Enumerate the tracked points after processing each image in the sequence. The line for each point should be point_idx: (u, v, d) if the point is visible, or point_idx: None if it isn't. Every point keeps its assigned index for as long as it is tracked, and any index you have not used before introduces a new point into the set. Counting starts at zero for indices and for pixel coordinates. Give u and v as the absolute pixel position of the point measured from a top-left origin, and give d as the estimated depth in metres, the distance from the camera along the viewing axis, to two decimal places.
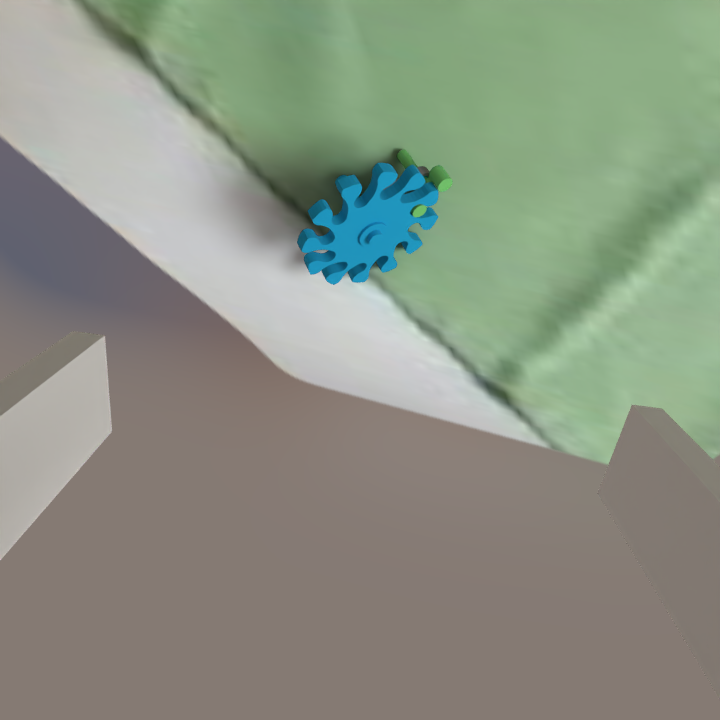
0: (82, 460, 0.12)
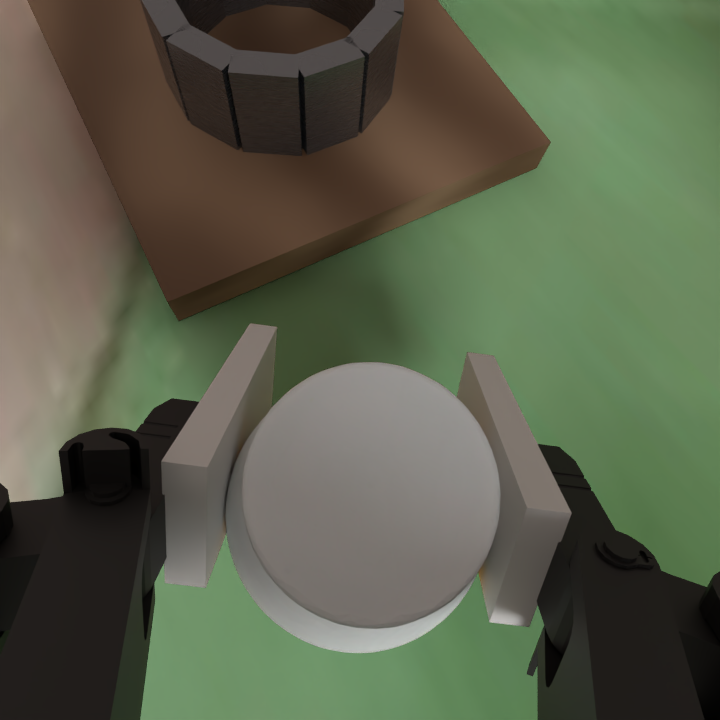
0: None
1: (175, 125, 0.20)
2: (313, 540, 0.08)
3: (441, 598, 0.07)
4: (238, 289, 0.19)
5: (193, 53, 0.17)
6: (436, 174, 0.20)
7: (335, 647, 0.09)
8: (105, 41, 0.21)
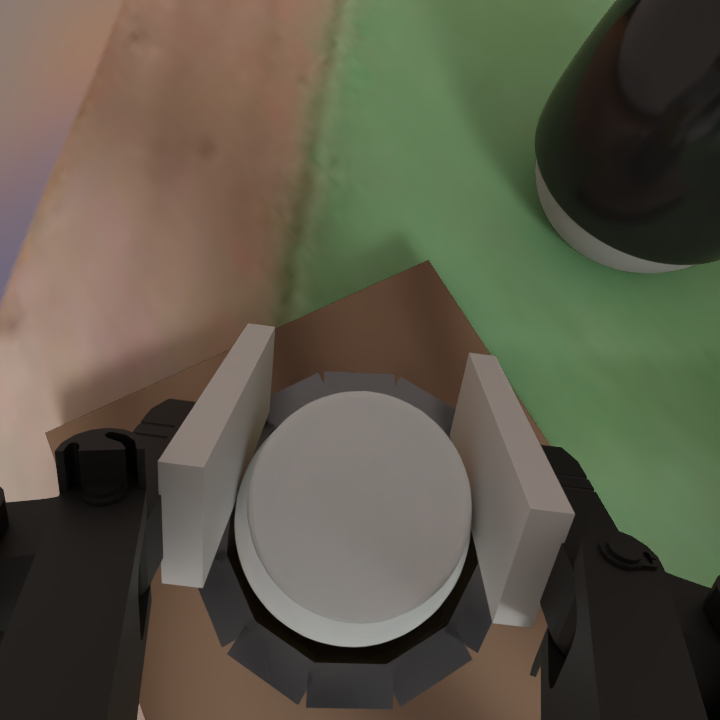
0: (259, 434, 0.14)
1: None
2: (309, 548, 0.09)
3: (418, 597, 0.09)
4: None
5: (261, 677, 0.13)
6: None
7: (331, 641, 0.11)
8: None
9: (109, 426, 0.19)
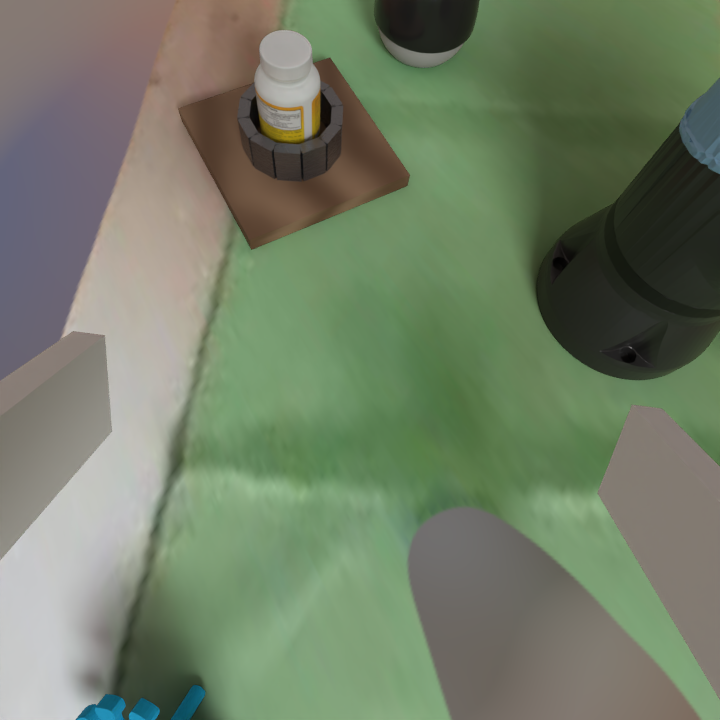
0: (82, 460, 0.12)
1: (248, 168, 0.48)
2: (273, 55, 0.40)
3: (297, 64, 0.40)
4: (275, 237, 0.47)
5: (260, 144, 0.44)
6: (358, 189, 0.48)
7: (279, 100, 0.42)
8: (215, 130, 0.49)
9: (202, 107, 0.50)
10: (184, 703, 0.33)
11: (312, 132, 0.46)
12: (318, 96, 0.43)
